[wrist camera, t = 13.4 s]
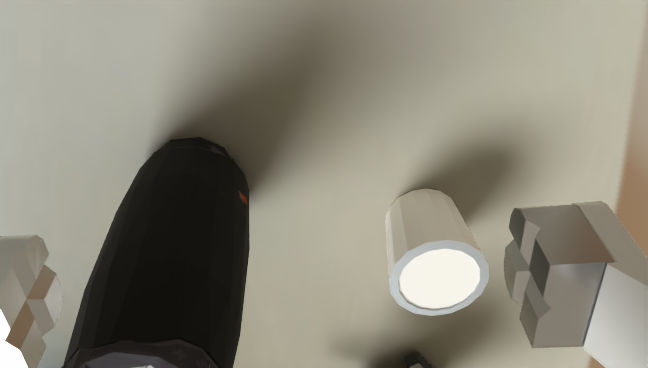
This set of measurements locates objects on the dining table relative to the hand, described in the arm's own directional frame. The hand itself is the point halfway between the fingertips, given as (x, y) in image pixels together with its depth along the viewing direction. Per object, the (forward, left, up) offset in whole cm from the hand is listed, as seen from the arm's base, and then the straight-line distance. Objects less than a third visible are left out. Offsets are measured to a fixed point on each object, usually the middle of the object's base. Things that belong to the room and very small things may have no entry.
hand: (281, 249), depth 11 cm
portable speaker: (0, -19, -29) cm, 35 cm away
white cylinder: (+17, -16, -29) cm, 37 cm away
